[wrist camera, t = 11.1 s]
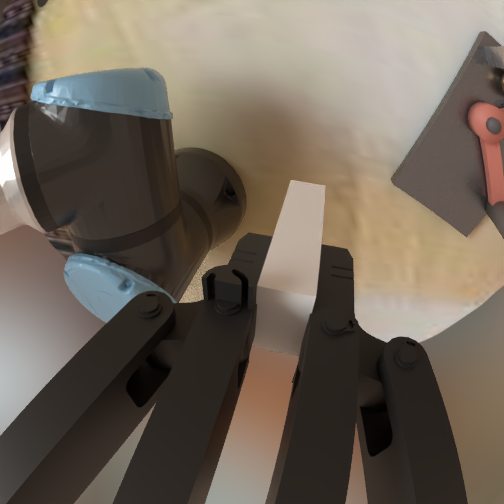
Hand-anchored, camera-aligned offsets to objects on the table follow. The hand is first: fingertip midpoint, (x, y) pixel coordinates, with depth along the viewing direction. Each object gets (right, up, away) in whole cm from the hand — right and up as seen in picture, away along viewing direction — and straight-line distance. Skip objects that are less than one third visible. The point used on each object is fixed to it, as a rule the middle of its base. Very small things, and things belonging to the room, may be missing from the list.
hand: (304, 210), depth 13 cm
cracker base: (+26, +12, +14) cm, 32 cm away
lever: (+29, +10, +13) cm, 33 cm away
